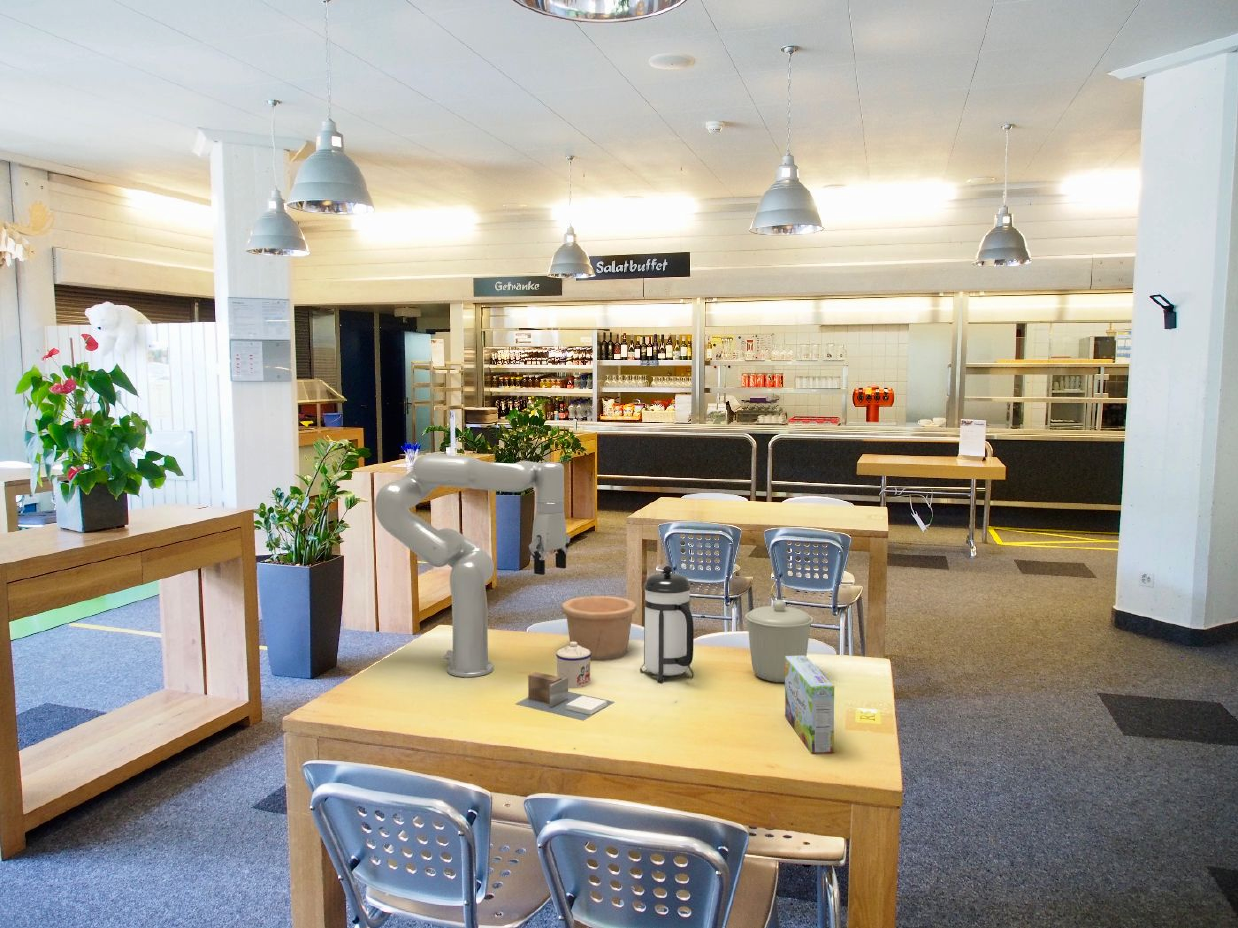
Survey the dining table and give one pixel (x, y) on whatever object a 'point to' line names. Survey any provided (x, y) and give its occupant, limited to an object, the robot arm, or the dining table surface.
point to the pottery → (600, 624)
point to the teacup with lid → (574, 665)
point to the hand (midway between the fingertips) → (550, 570)
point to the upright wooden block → (547, 688)
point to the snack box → (809, 704)
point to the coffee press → (667, 625)
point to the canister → (776, 638)
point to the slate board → (560, 706)
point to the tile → (586, 705)
